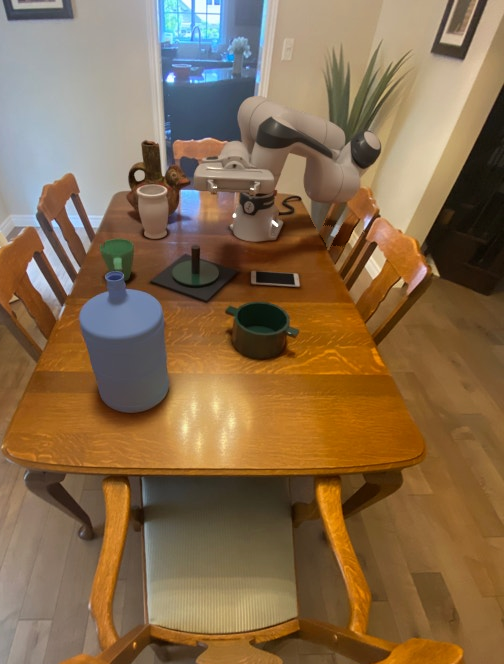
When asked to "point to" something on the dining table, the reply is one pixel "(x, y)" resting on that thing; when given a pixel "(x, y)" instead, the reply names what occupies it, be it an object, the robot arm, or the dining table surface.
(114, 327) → the water jug
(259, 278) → the smartphone
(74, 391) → the dining table surface
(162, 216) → the jar
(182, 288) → the mat
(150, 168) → the ceramic vessel
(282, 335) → the pot
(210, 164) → the robot arm
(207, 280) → the lid
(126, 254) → the mug
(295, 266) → the dining table surface
